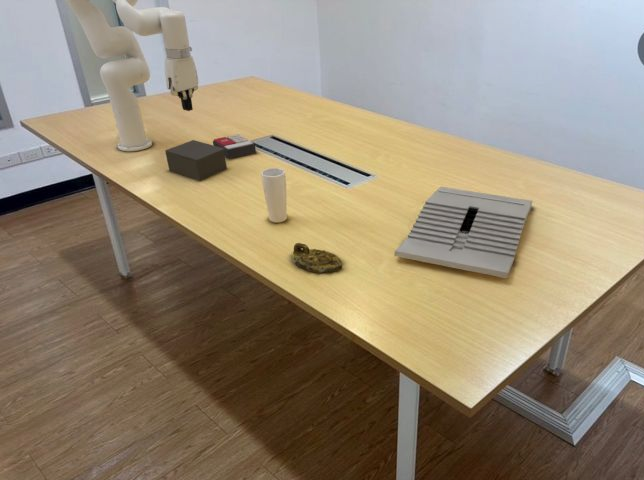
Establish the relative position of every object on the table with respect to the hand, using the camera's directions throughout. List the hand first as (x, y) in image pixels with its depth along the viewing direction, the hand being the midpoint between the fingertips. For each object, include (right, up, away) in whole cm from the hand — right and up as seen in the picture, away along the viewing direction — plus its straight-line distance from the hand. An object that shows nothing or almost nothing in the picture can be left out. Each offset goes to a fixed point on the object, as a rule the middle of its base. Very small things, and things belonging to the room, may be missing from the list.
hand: (187, 109), depth 189 cm
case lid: (+2, -13, +4) cm, 14 cm away
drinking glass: (+35, -40, -24) cm, 58 cm away
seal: (+49, -54, -44) cm, 85 cm away
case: (+1, -19, +7) cm, 21 cm away
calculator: (+10, -9, +24) cm, 27 cm away
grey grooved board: (+91, -45, -30) cm, 106 cm away
